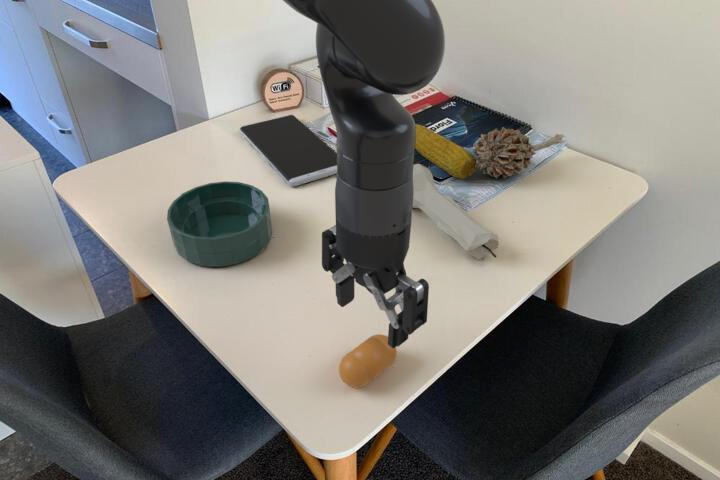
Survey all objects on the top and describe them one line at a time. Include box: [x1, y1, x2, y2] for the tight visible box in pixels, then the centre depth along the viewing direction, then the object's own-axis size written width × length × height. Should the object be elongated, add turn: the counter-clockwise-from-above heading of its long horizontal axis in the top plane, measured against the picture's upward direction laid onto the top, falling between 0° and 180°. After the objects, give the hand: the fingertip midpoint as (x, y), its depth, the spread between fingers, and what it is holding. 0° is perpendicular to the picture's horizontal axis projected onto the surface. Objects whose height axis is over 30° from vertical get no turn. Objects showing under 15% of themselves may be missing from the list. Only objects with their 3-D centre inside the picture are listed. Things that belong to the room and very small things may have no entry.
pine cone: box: [470, 126, 567, 179], centre depth 103 cm, size 22×10×10 cm, turn 120°
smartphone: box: [239, 113, 337, 187], centre depth 111 cm, size 13×27×2 cm, turn 31°
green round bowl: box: [166, 181, 273, 268], centre depth 86 cm, size 16×16×6 cm
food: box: [415, 123, 476, 180], centre depth 107 cm, size 21×6×6 cm, turn 33°
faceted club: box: [412, 163, 500, 261], centre depth 88 cm, size 9×8×25 cm
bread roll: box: [338, 333, 398, 389], centre depth 66 cm, size 8×4×4 cm, turn 133°
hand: (370, 321), depth 61 cm, fingers open, 8 cm apart
